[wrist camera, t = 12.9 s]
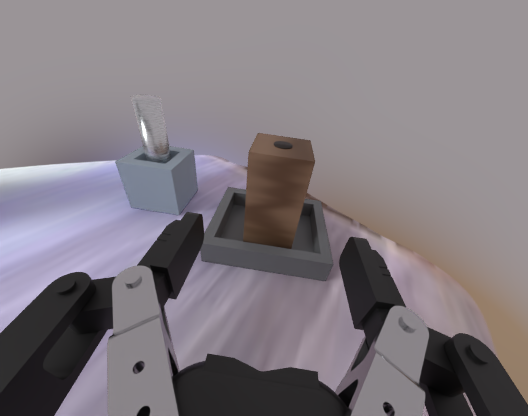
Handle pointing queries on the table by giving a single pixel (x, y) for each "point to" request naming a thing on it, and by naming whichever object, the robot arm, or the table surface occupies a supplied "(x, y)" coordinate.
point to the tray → (263, 256)
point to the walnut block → (276, 188)
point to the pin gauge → (152, 127)
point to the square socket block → (159, 180)
